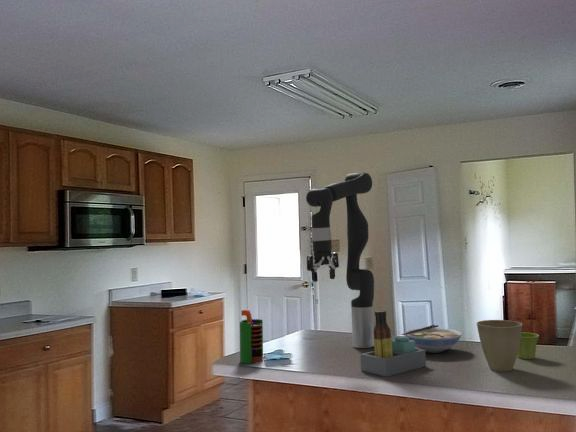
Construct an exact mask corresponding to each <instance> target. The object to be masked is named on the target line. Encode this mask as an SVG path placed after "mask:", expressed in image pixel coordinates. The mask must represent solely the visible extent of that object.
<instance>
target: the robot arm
mask: <svg viewBox="0 0 576 432" xmlns="http://www.w3.org/2000/svg"><path fill="white" fill-rule="evenodd" d="M372 188H373V179H372V176H371V175H370V174H369V173H368V172H363V171H362V172H355V173H348V174H346V176H345V178H344V181H338V182H335V183H331V184H328V185H326V186H322V187H316V188H311V189H310V190H309V191H307V193H306V195H305V196H306V197H305V198H306V199H305V200H306V202H307V204H308V206H310V207H315V208H317V207H319V211H318V212H314V213H313V214H311V226H312V227H311V229H312V231H311V241H312V242H311V243H312V251H313V255H310V254H307V255H306V270H307V271H309V272H311V280H312V282H315V283H317V282H318V281H319V279H318V278H319V277H318V269H319V268H321V266H324V265H325V266H327V267H328V268H329V279H330V280H335V278H336V269H337V268H339V267H340V264H339V263H340V261H339V253H338V252H332V251H333V249H332V248H333V246H332V233H331V232H332V231H331V224H330V223H331V222H330V217H331V216H330V215H331V211H332V206H333V202H336V201H340V200H342V199H345V203H346V214H347V215H346V221H347V222H346V223H347V224H346V225H347V226H346V228H347V229H346V232H347V233H346V236H347V237H346V238H347V262H346V274H345V277H346V285H347V287H348V288H349V289H350V291H351V290H352V291H359V295H358V296H357V297H355V298H353V299H351V302H350V307H351V330H352V331H351V333H352V347H354V348H355V349H369V348H373V347H374V332H373V330H374V327H375V325H376V322H374V309H373V307H374V305H373V304H374V300H375V299H374V297H375V277H374V274H373V272H372V270H370V269H366V268H365V269H363V268H362V269H361V268H360V261H361V260H360V259H361V256H362V253H363V252H364V250H365V247H366V246H367V244H368V241H369V223H368V220H367V218H366V216H365V215H364V214H363V212H362V210H361V208H360V206H359V203H358V195H359V194H361V195H362V194H367V193H369V192H370V191H371V190H372ZM374 348H375V347H374Z"/></svg>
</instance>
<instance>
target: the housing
mask: <svg viewBox="0 0 576 432" xmlns="http://www.w3.org/2000/svg"><path fill="white" fill-rule="evenodd" d="M392 352H393V351H392ZM359 357H360V371H362V372H366V373H370V374H372V375H373V374H375V375H378V376H382V377H390V376H394V375H397V374H402V373H404V372H408V371H413V370H417V369H421V368H424V367H426V366H427V364H426V362H427V361H426V357H427V356H426V352H425V350H423V349H419V348H417V347H415V352H411V353H406V354H403V353H398V352H393V357H389V358H381V357H376V356H375V350H374V351H368V352H363V353H360V356H359Z"/></svg>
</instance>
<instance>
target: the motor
mask: <svg viewBox="0 0 576 432" xmlns="http://www.w3.org/2000/svg"><path fill="white" fill-rule="evenodd" d="M241 316H245V317H246V319H242V320H240V321H239V361H240V363H242V364H245V365H247V364H248V365H252V364H258V363H262V362H263V360H264V334H263V333H264V332H263V329H264V328H263V325H264V324H263V323H264V322H263V319H262V318H261V319H260V318H259V319H258V318H253V317H252V313H251V311H250V310H249V309H242V310H241Z"/></svg>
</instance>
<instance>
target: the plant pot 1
mask: <svg viewBox="0 0 576 432" xmlns="http://www.w3.org/2000/svg"><path fill="white" fill-rule="evenodd" d="M476 327H477V333H478V338H479V341H480V342H479V343H480V344H481V349H482V352H483V354H484V358H485V360H486V363H487V364H488V368H489V369H490V370H492V371H495V372H502V373H503V372H505V373H507V372H510V371H513V369H514V366H515V364H516V361H517V358H518V357H517V354H518V350H519V345H520V340H521V332H522V331H523V323H522V322H520V321H515V320H506V319H486V320H485V319H484V320H479V321H476Z"/></svg>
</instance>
